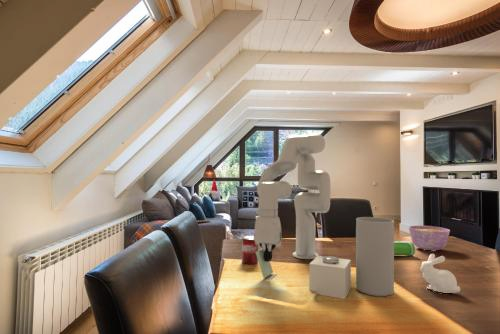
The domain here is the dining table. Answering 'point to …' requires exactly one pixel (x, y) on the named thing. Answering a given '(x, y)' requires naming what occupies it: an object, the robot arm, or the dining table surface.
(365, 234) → the cylinder vase
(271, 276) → the hinge foot
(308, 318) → the dining table surface
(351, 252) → the dining table surface
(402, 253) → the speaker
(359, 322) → the dining table surface
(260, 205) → the robot arm
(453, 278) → the rabbit
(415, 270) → the dining table surface
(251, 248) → the soda can
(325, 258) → the silver knob
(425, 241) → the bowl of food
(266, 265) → the plate
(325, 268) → the hitch block
